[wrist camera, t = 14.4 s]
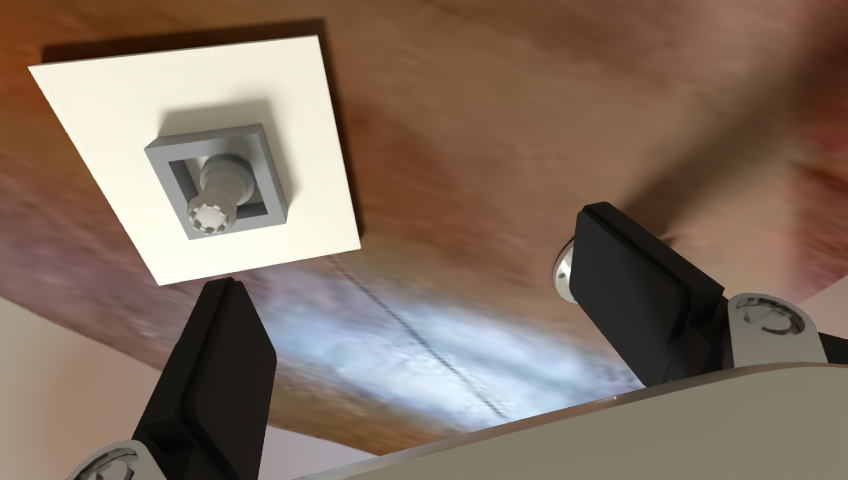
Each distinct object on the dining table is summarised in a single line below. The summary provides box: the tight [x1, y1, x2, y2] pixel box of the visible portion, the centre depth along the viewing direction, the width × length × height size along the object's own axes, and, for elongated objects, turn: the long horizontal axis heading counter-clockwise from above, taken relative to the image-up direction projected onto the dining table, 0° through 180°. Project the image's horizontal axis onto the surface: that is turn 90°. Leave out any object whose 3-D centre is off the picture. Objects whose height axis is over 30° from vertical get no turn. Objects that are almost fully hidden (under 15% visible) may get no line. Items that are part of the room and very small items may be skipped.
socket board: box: [28, 34, 361, 285], centre depth 33 cm, size 20×20×4 cm
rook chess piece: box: [187, 154, 257, 236], centre depth 30 cm, size 4×4×8 cm
